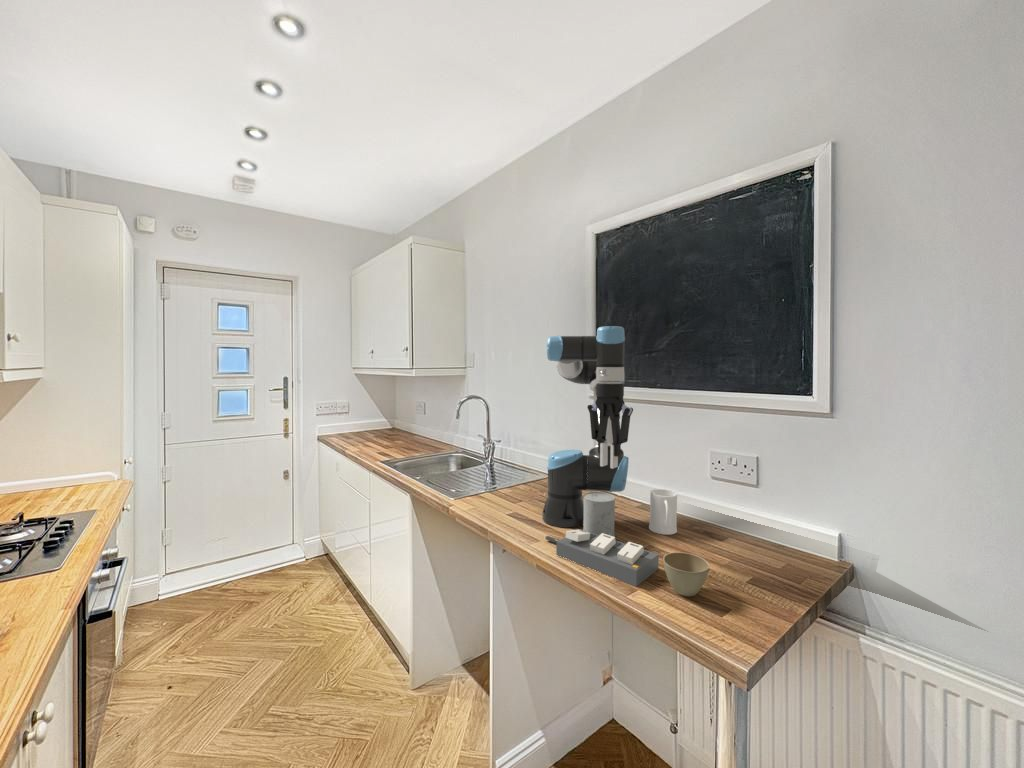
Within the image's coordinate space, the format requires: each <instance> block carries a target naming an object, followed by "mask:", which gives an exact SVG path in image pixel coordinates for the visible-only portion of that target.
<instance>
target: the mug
mask: <svg viewBox="0 0 1024 768" xmlns="http://www.w3.org/2000/svg"><path fill="white" fill-rule="evenodd" d="M649 495H650V503H649V525H648V530H650V531H651V532H653V533H655V534H659V535H664V536H665V535H666V536H668V535H675V534H676V533H678V529H677V528H678V527H677V517H678V515H677V514H678V513H677V512H678V508H677V507H678V493H677V492H676V491H673V490H669V489H665V488H664V489H663V488H661V489H659V488H658V489H657V488H655V489H652V490H650V494H649Z"/></svg>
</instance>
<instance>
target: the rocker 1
mask: <svg viewBox="0 0 1024 768" xmlns="http://www.w3.org/2000/svg"><path fill="white" fill-rule="evenodd" d="M582 530H583V529H572V530H566V531H565V536H564V538H568V539H571V540H574V541H577V542H579V541H585V540H590V533H588V532H585V531H582Z"/></svg>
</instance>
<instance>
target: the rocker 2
mask: <svg viewBox="0 0 1024 768" xmlns="http://www.w3.org/2000/svg"><path fill="white" fill-rule="evenodd" d="M615 540H616V537H613V536H610V535H607V534H603V533H602V534H601V535H599V536H598V537H597V538H596V539H595V540H594V541H593V542H592V543H591V544H590V548H591V551H594V552H597V553H600V554H603V555H604V554H605V553H606V552H607V551H608V550H609V549H610V548H611V547H612V546H613V545H614V544H615V543H616V541H617V540H616V541H615Z"/></svg>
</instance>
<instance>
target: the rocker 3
mask: <svg viewBox="0 0 1024 768" xmlns="http://www.w3.org/2000/svg"><path fill="white" fill-rule="evenodd" d="M625 544H626V545H625V546H624V547H623V548H622V549H621V550H620V551H619V552H618V553H617V557H618V560H620V561H623V562H625V563H628V564H631V565H633V564H634V563H635V561H636V560H637V559H638V558H639V557H640V556H641V555H642V554H643V553H644V550H645V549H644V546H643V545H641V544H637V543H634V542H631V541H628V542H627V543H625ZM643 549H644V550H643Z"/></svg>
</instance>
